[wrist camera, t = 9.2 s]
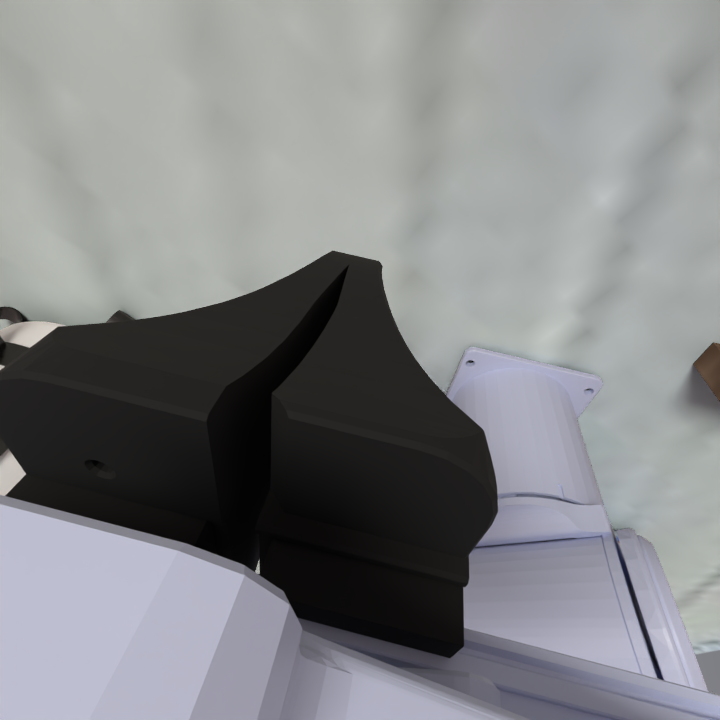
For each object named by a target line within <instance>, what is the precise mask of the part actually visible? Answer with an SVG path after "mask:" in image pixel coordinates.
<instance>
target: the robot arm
mask: <svg viewBox="0 0 720 720" xmlns="http://www.w3.org/2000/svg"><path fill="white" fill-rule="evenodd" d="M382 267H383V266H382V265H381V263H380V262H379V261H376V260H371V259H367V258H363V257H358V256H354V255H349V254H345V253H341V252H336V251H331V252H329V253H327V254H326V255H324V256H322V257H321V258H319V259H317V260H316V261H314V262H312V263H311V264H309V265H307V266H305V267H304V268H302V269H300V270H298V271H296V272H295V273H293V274H291V275H289V276H287V277H285V278H283V279H281V280H279V281H276V282H274V283H272V284H270V285H268V286H266V287H264V288H262V289H259V290H257V291H254V292H252V293H249V294H246V295H244V296H241V297H238V298H235V299H232V300H229V301H226V302H222V303H218V304H214V305H210V306H207V307H203V308H199V309H195V310H191V311H187V312H182V313H177V314H171V315H166V316H160V317H153V318H146V319H140V320H132V321H124V322H113V323H100V324H88V325H76V326H58V327H57V328H55V329H54V330H53V331H51V332H50V333H49V334H47V335H46V336H45V337H44V338H42V339H41V340H40V341H38V342H37V343H36V344H34V345H33V346H32V347H30V348H29V349H28V350H26V351H25V352H24V353H22V354H21V355H20V356H18V357H17V358H16V359H14V360H13V361H12V362H10V363H9V364H8V365H6V366H5V367H4V368H2V369H1V370H0V437H1V439H2V440H3V441H4V443H5V444H6V446H7V447H8V449H9V450H10V452H11V453H12V454H13V456H14V457H15V459H16V460H17V462H18V463H19V464H20V466H21V467H22V469H23V470H24V472H25V473H26V475H25V476H24V477H23V478H22V479H21V480H20V481H19V482H18V483H17V484H16V485H15V486H14V487H13V488H12V489H11V490H10V491H9V492H8V493H7V494H6V495H5V496H3V495H0V720H720V695H718V694H714V693H710V692H708V690H707V687H706V684H705V681H704V678H703V676H702V673H701V670H700V668H699V665H698V662H697V659H696V656H695V653H694V651H693V648H692V645H691V642H690V640H689V637H688V634H687V632H686V629H685V626H684V624H683V621H682V618H681V616H680V613H679V610H678V608H677V605H676V602H675V600H674V597H673V594H672V592H671V589H670V586H669V584H668V581H667V579H666V576H665V574H664V571H663V568H662V566H661V563H660V561H659V558H658V556H657V553H656V551H655V549H654V547H653V545H652V543H651V542H649V541H648V540H646V539H645V538H643V537H642V536H640V535H636V532H635V531H634V530H633V529H632V528H625V529H620V530H617V534H618V538H619V542H620V545H621V548H620V545H619V543H618V540H617V538H616V535H615V533H614V530H613V528H612V525H611V523H610V520H609V518H608V515H607V513H606V510H605V507H604V504H603V501H602V498H601V495H600V491H599V488H598V485H597V482H596V478H595V475H594V472H593V469H592V466H591V462H590V459H589V456H588V453H587V449H586V446H585V443H584V440H583V436H582V433H581V430H580V427H579V424H578V420H577V419H578V417H579V416H580V415H581V413H582V412H583V411H584V409H585V408H586V407H587V406H588V404H589V403H590V402H591V400H592V399H593V398H594V397H595V395H596V394H597V393H598V391H599V390H600V389H601V387H602V386H603V382H602V380H601V378H600V377H599V376H596V375H592V374H588V373H584V372H580V371H575V370H571V369H567V368H562V367H558V366H554V365H550V364H545V363H541V362H537V361H533V360H528V359H524V358H520V357H516V356H511V355H507V354H503V353H498V352H494V351H490V350H486V349H481V348H477V347H470V348H468V349H466V350H465V352H464V354H463V356H462V359H461V361H460V364H459V366H458V368H457V371H456V373H455V375H454V378H453V380H452V382H451V385H450V387H449V390H448V392H447V394H446V395H445V394H444V393H443V392H442V391H441V390H440V389H439V388H438V386H437V385H436V384H435V383H434V382H433V381H432V380H431V379H430V378H429V376H428V375H427V374H426V372H425V371H424V370H423V369H422V367H421V366H420V365H419V363H418V362H417V361H416V359H415V358H414V356H413V355H412V353H411V351H410V350H409V348H408V347H407V345H406V343H405V341H404V339H403V338H402V336H401V334H400V332H399V330H398V327H397V325H396V323H395V321H394V318H393V316H392V313H391V310H390V308H389V305H388V301H387V298H386V294H385V291H384V286H383V280H382ZM469 360H472V361H474V362H472V363H468V362H467V361H469ZM588 388H591V389H590V390H586V389H588ZM621 549H622V550H621ZM622 552H623V553H622ZM623 555H624V556H623ZM259 559H260V574H257V573H255V570H256V567H257V564H258V560H259Z"/></svg>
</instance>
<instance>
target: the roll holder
mask: <svg viewBox="0 0 720 720" xmlns="http://www.w3.org/2000/svg"><path fill="white" fill-rule="evenodd" d="M694 366H695V367H696V369H697V370H698V371H699V373H700V374H701V376H702V377H703V379H704V380H705V381H706V383H707V384H708V386H709V387H710V388H711V390H712V391H713V393H714V394H715V396H716V397H717V398H718V400H719V401H720V344H717V343H713V344H712V345H711V346H710V347H709V348H708V349H707V350H706V351H705V352H704V353H703V354H702V355H701V356H700V357H699V359H698V360H697V361H696V362H695V363H694Z"/></svg>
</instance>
